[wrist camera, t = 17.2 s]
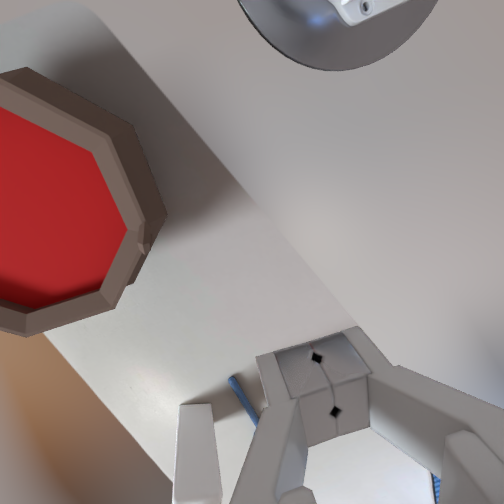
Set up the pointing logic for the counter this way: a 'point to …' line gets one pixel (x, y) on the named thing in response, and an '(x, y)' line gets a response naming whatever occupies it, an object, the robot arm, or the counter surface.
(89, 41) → the counter surface
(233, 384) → the spoon
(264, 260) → the counter surface
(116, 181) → the octagonal pot
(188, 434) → the white square bottle
